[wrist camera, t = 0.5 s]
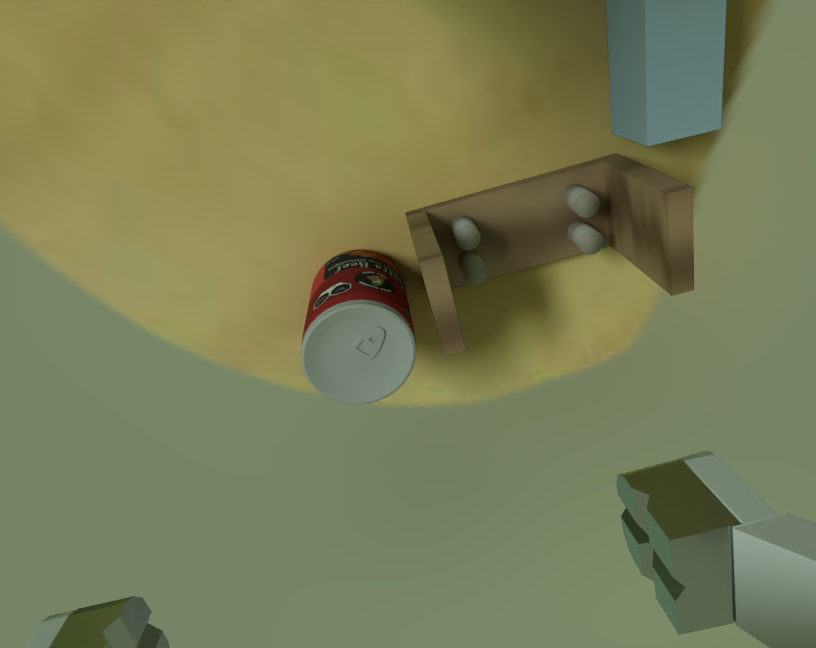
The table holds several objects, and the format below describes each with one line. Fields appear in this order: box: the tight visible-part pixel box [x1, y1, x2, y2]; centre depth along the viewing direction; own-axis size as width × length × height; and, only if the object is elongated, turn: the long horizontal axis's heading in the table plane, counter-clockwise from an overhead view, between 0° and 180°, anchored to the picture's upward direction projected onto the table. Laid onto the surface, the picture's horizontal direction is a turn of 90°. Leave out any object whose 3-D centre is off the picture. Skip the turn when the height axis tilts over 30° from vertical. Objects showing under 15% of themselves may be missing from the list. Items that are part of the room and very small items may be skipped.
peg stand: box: [406, 154, 694, 356], centre depth 40 cm, size 7×17×11 cm, turn 105°
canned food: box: [301, 250, 416, 405], centre depth 42 cm, size 8×8×11 cm
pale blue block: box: [606, 0, 727, 147], centre depth 37 cm, size 12×5×6 cm, turn 12°
